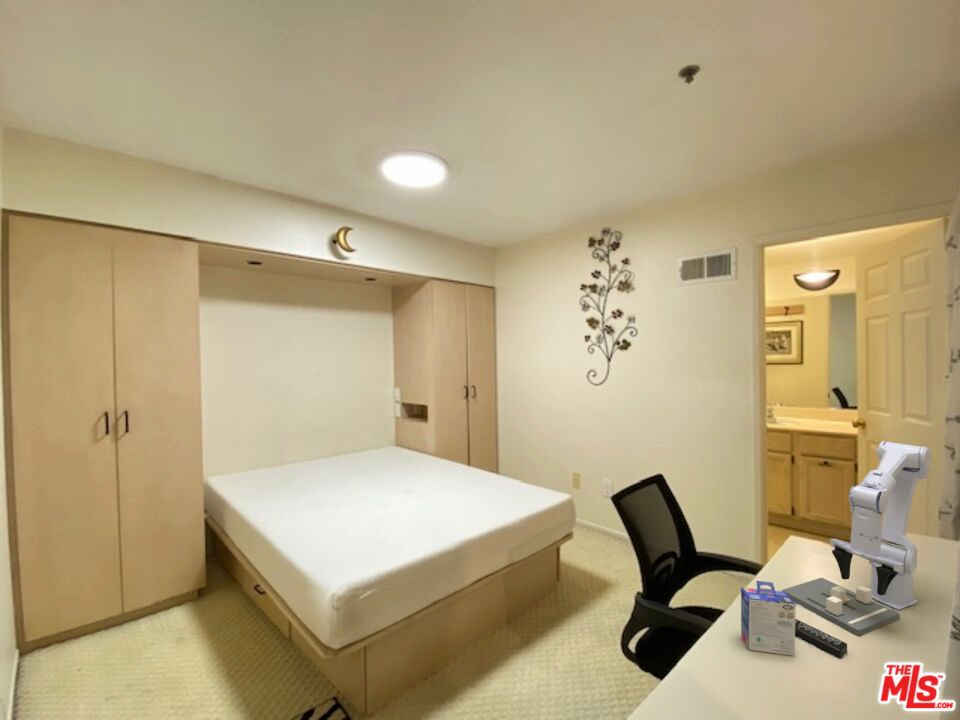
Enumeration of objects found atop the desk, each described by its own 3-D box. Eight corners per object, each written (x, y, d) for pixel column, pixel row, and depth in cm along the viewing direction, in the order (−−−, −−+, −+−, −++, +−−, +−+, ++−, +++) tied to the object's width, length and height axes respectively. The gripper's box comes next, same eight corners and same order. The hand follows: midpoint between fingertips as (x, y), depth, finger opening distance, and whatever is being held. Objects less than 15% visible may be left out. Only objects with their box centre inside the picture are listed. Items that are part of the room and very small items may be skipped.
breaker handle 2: (860, 596, 115) (860, 584, 115) (873, 602, 112) (874, 590, 112) (853, 598, 114) (854, 587, 114) (867, 604, 111) (867, 593, 111)
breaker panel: (821, 582, 125) (821, 577, 124) (899, 619, 108) (900, 613, 108) (781, 595, 118) (781, 589, 118) (858, 636, 101) (858, 630, 101)
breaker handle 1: (831, 606, 110) (831, 594, 110) (844, 613, 107) (844, 601, 107) (823, 609, 109) (824, 597, 109) (837, 616, 106) (837, 604, 106)
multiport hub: (840, 660, 94) (840, 650, 94) (784, 632, 103) (784, 623, 103) (847, 653, 96) (848, 643, 96) (792, 626, 106) (792, 617, 105)
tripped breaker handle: (835, 596, 115) (835, 584, 115) (848, 602, 112) (848, 590, 112) (828, 598, 114) (828, 587, 114) (841, 604, 111) (841, 593, 111)
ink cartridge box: (784, 640, 100) (785, 581, 99) (796, 657, 94) (798, 594, 94) (738, 634, 102) (740, 576, 101) (748, 650, 96) (750, 589, 96)
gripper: (824, 524, 113) (821, 574, 113) (893, 547, 99) (889, 604, 99) (840, 522, 115) (837, 570, 115) (909, 544, 102) (906, 600, 102)
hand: (862, 586), depth 107 cm, fingers open, 7 cm apart
